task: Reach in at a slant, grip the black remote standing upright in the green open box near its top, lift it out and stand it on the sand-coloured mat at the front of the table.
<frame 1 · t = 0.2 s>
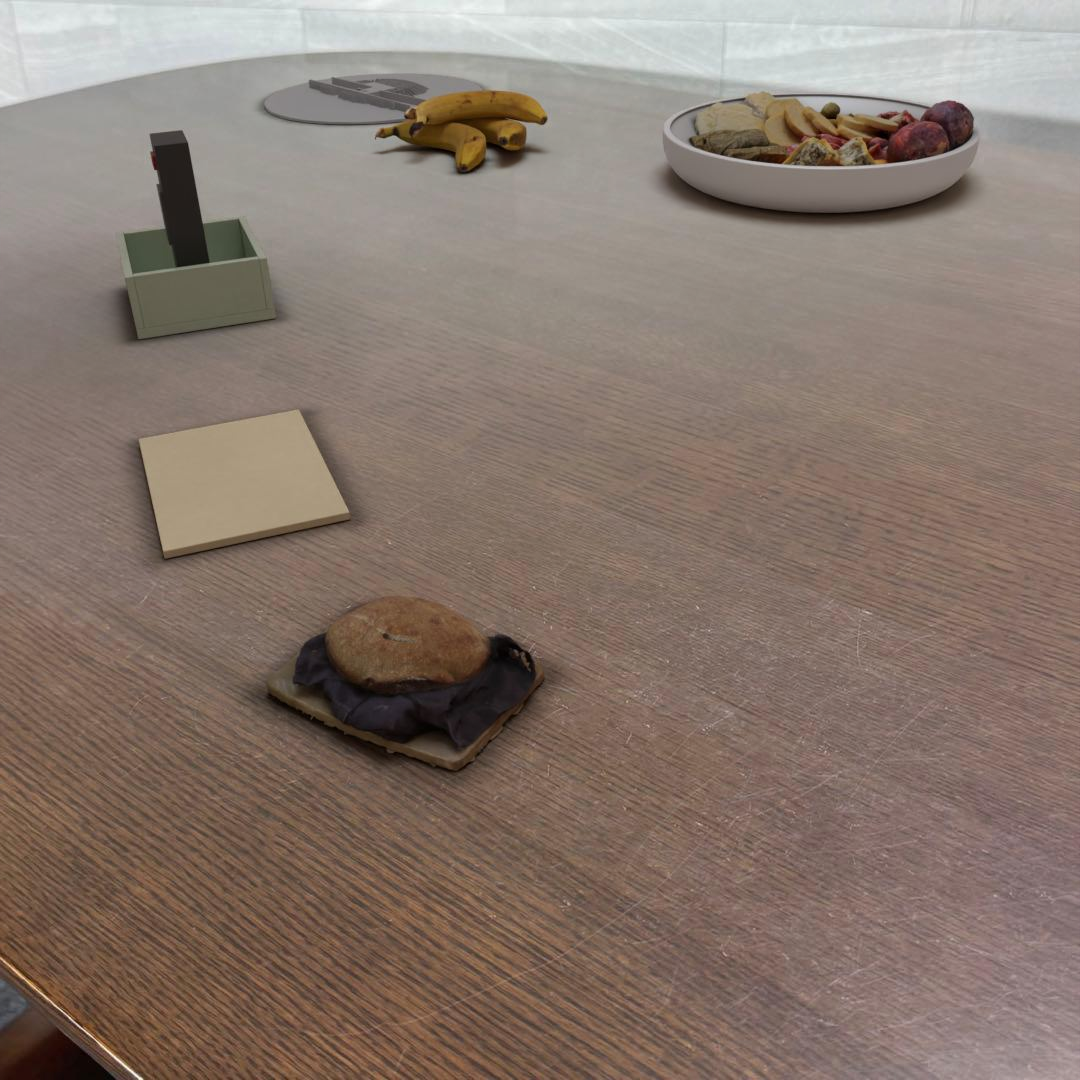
green open box: (199, 303, 95), on the table
bowl: (813, 179, 119), on the table
remote: (198, 294, 94), point 1 cm above the table, touching green open box
plate: (374, 100, 156), on the table
mat: (239, 480, 70), on the table
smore: (406, 688, 54), on the table
banana: (461, 156, 131), on the table
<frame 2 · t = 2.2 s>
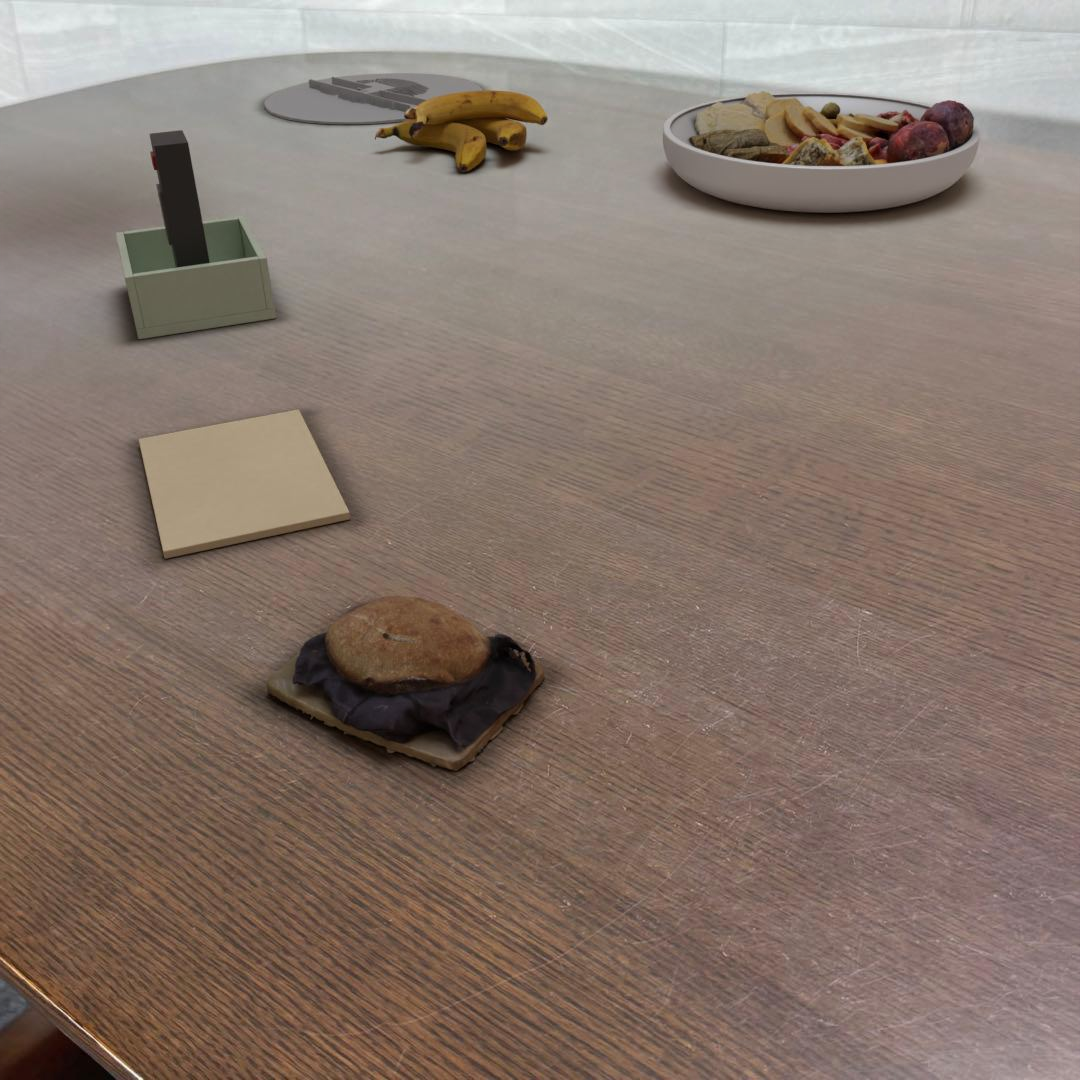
nothing on the table moved.
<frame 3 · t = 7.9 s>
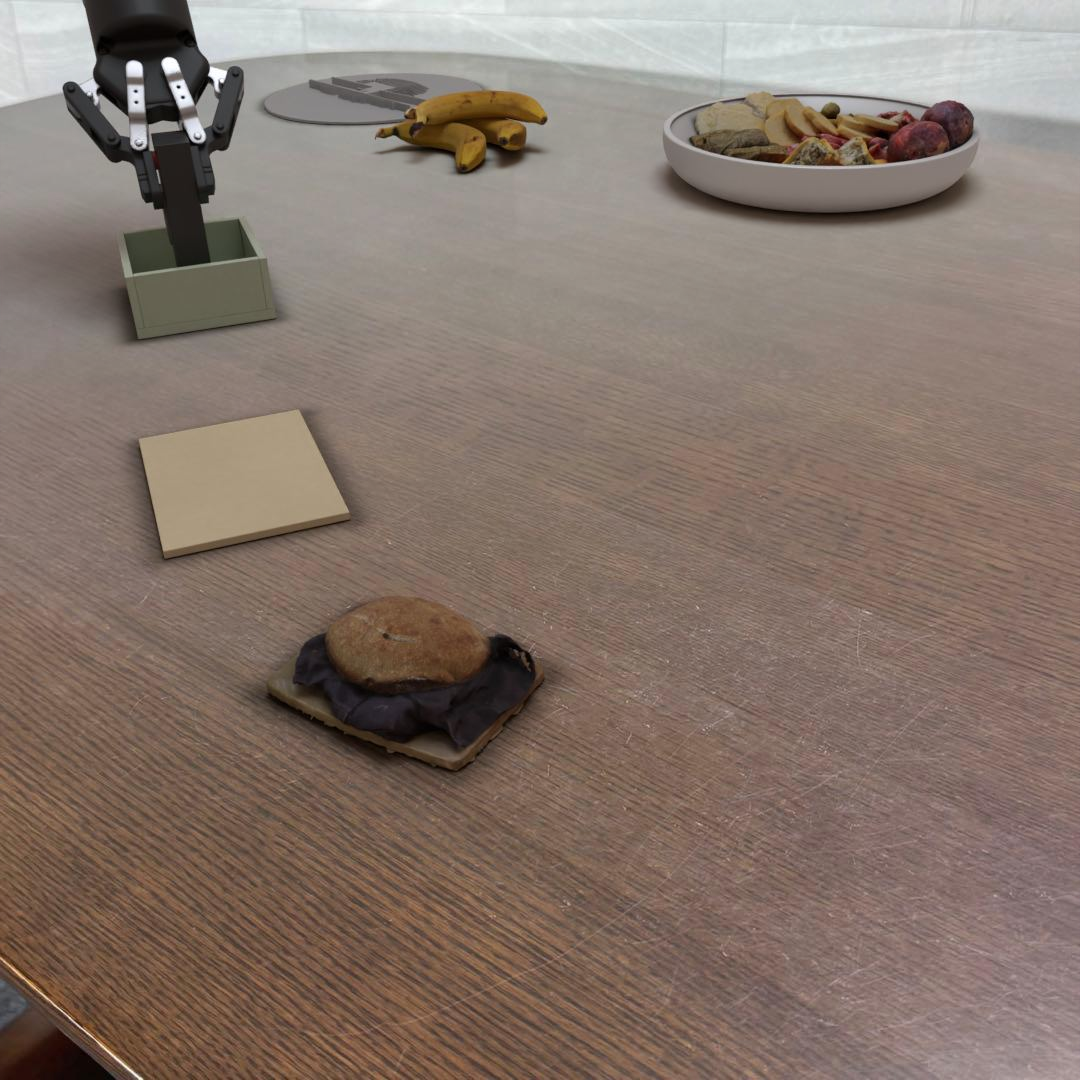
hand: (181, 200, 88), 9 cm above the table, tool tilted 45°, fingers closed on remote, 2 cm apart
remote: (199, 294, 94), point 1 cm above the table, touching green open box, gripper
everything else where it was.
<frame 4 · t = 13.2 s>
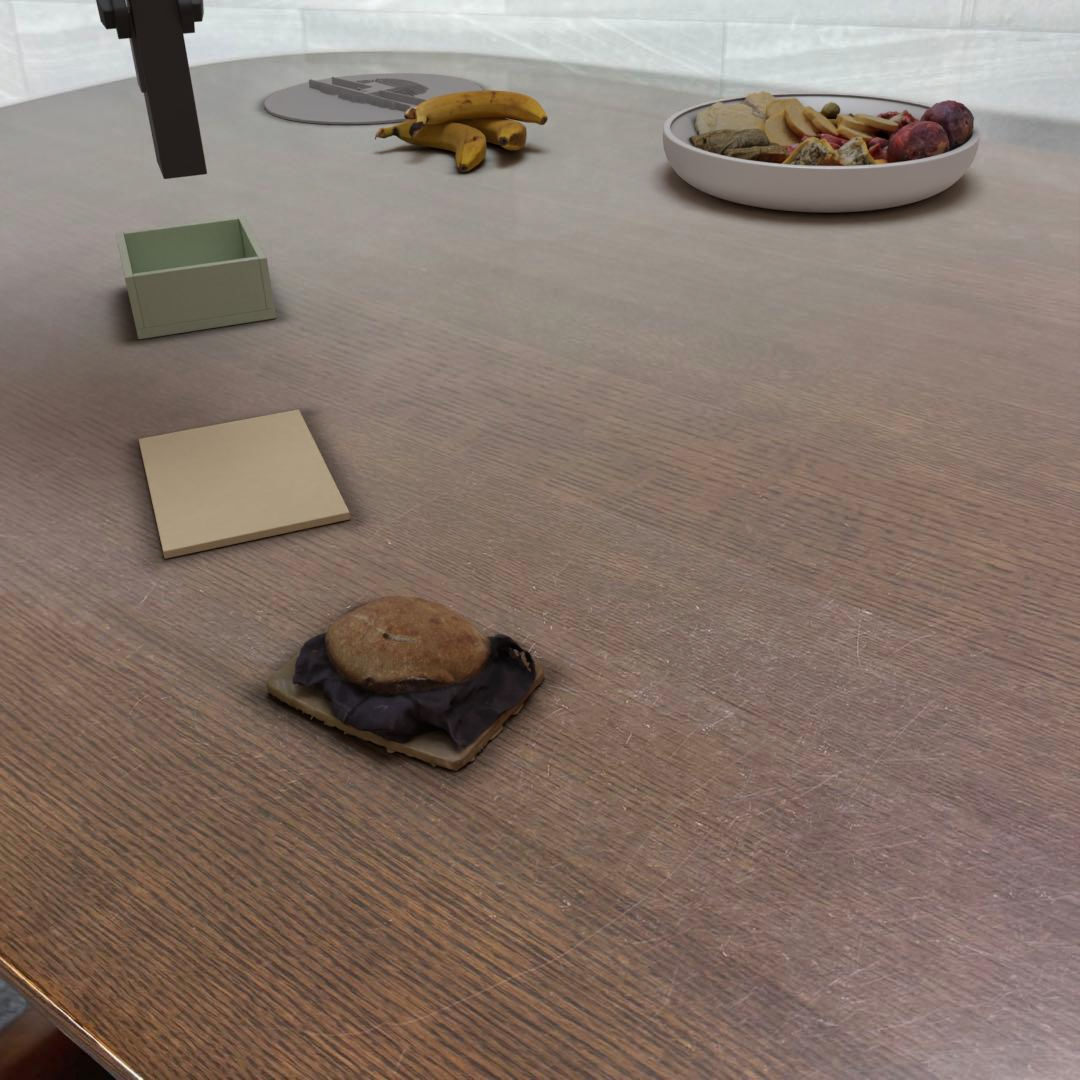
hand: (156, 25, 63), 24 cm above the table, tool tilted 45°, fingers closed on remote, 2 cm apart
remote: (181, 168, 69), point 16 cm above the table, touching gripper
everything else where it was.
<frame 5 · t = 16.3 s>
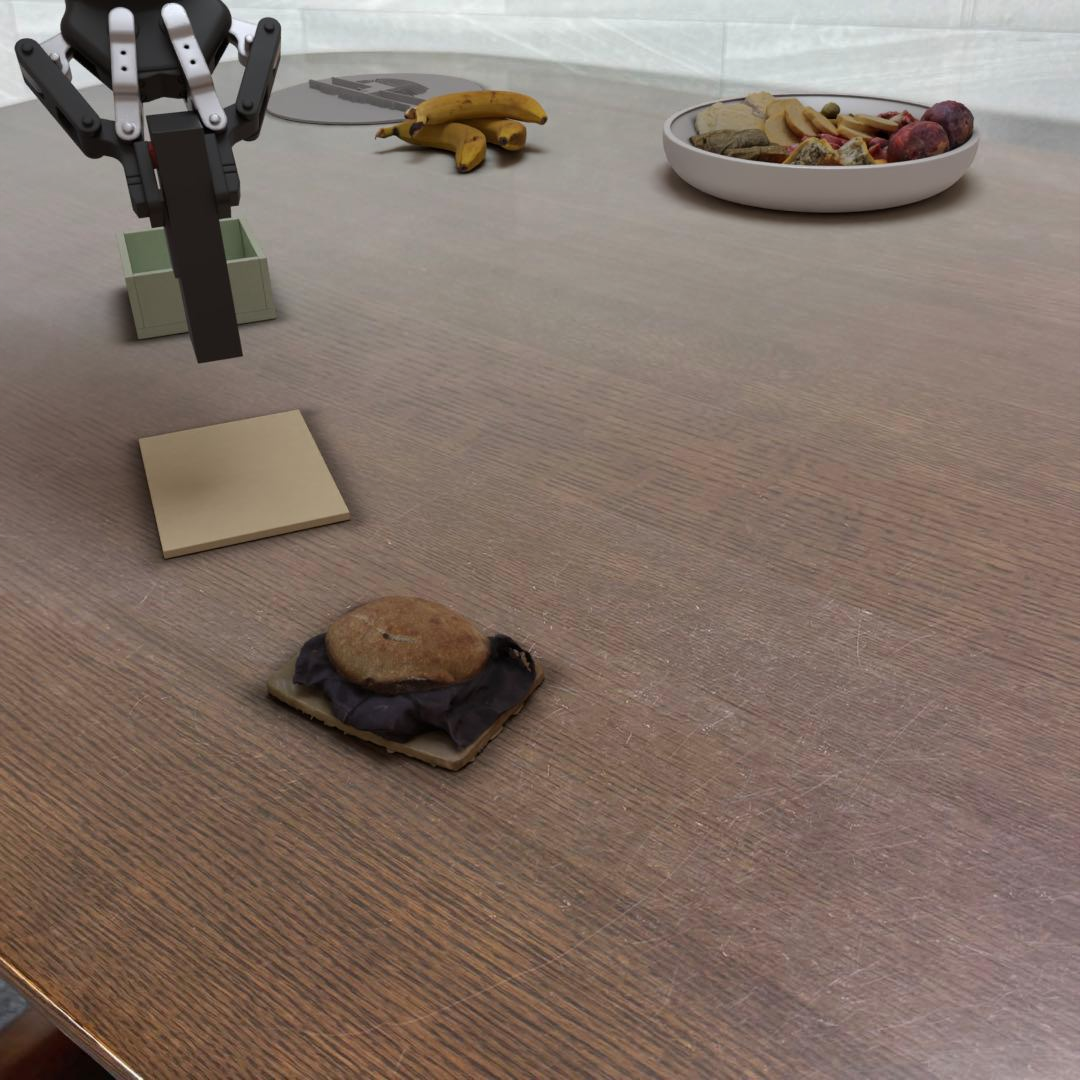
hand: (191, 214, 60), 16 cm above the table, tool tilted 45°, fingers closed on remote, 2 cm apart
remote: (216, 346, 66), point 8 cm above the table, touching gripper
everything else where it was.
when the fingers open (8 cm above the table, at t = 18.7 s): remote stays where it is, resting on mat.
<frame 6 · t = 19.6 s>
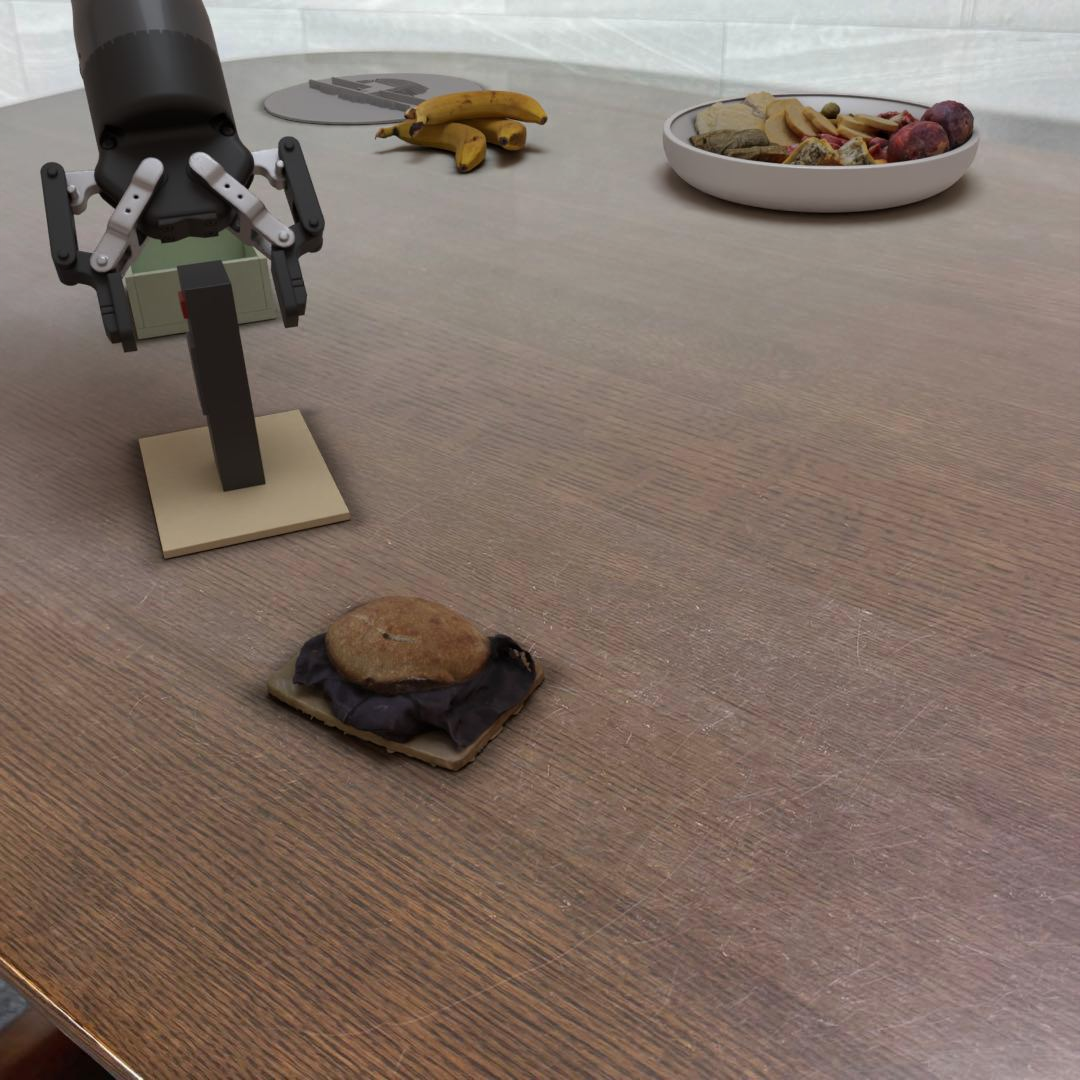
hand: (212, 334, 64), 10 cm above the table, tool tilted 45°, fingers open, 8 cm apart
remote: (240, 472, 70), resting on mat
everything else where it was.
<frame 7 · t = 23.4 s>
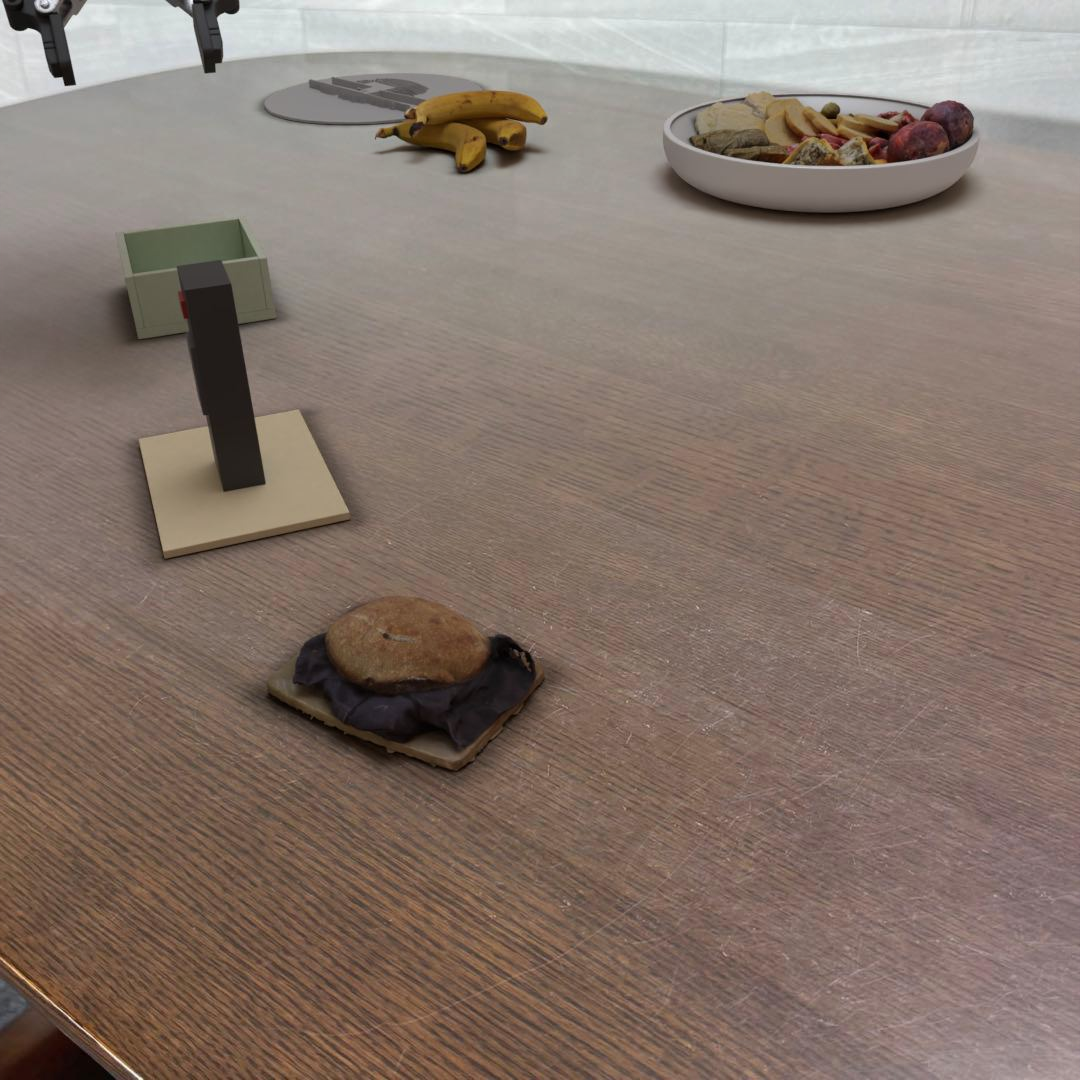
hand: (140, 71, 75), 19 cm above the table, tool tilted 45°, fingers open, 8 cm apart
nothing on the table moved.
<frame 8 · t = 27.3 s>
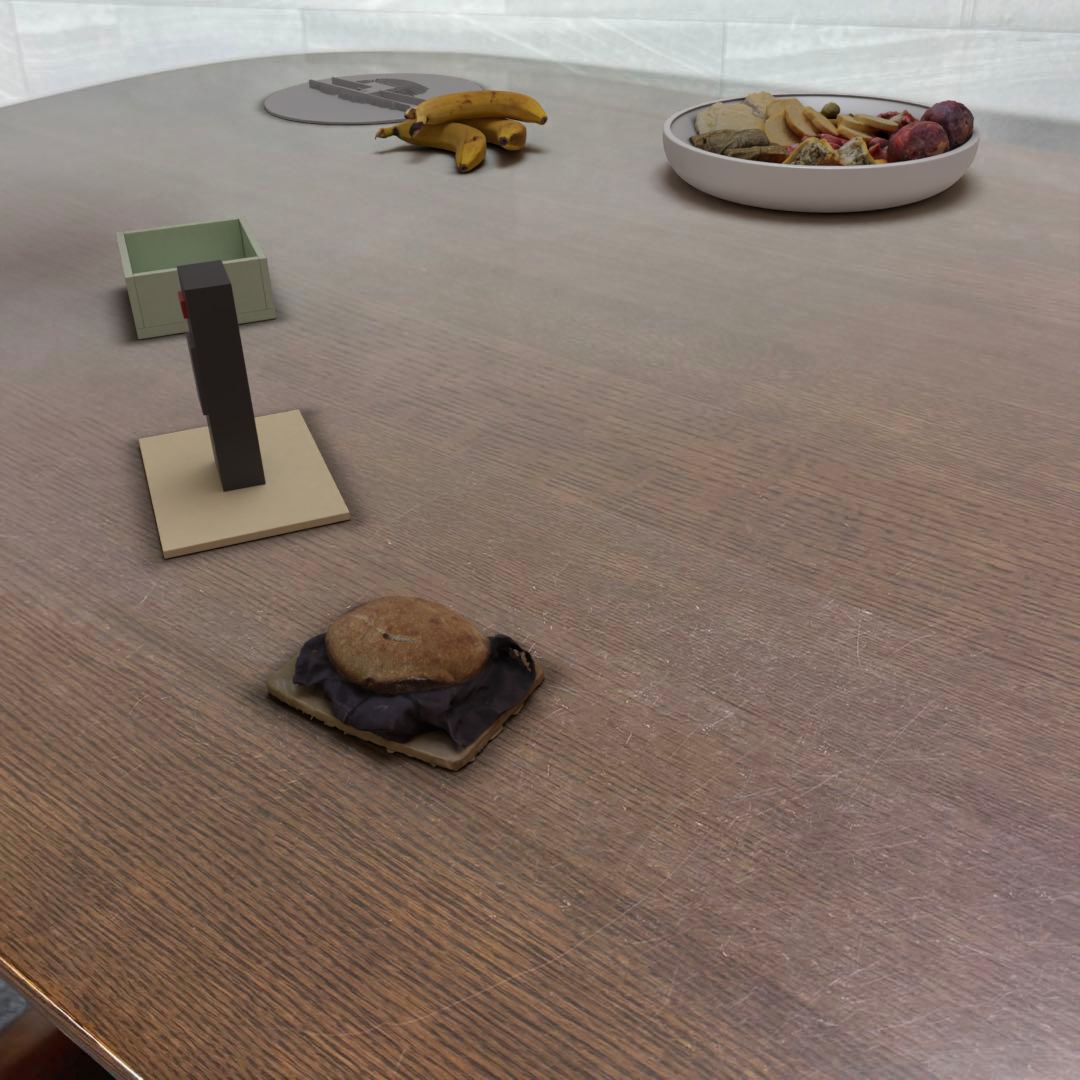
nothing on the table moved.
at the end: remote inside the target area on the mat (0.1 cm from its centre), point 0.5 cm above the mat's base; remote tilted 0°; the gripper is holding nothing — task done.
